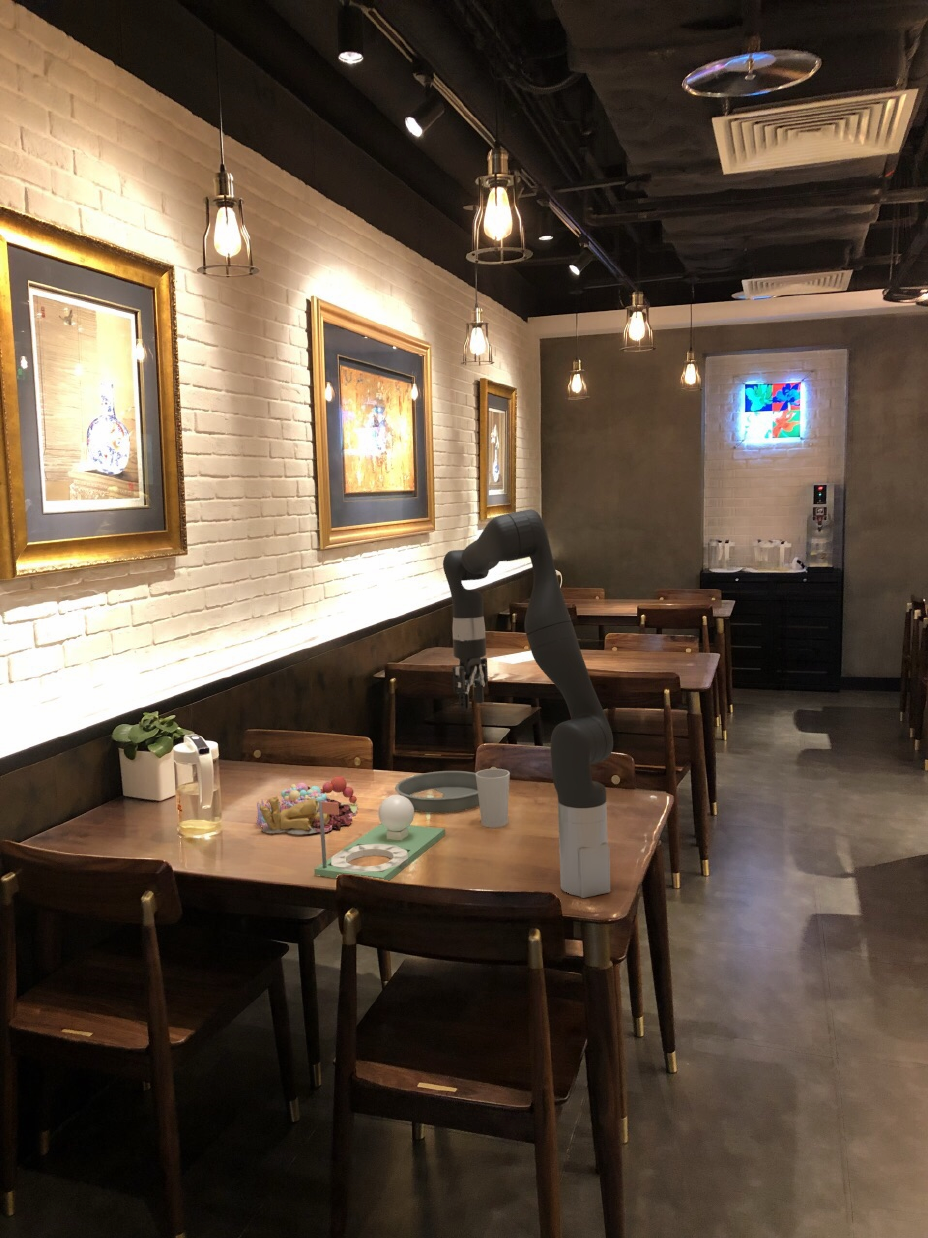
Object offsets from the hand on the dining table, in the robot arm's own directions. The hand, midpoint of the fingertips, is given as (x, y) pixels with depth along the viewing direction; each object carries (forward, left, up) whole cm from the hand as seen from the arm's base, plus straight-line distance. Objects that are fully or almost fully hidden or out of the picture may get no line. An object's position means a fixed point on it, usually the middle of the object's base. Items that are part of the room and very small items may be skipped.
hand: (471, 706), depth 220 cm
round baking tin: (+21, 0, -29) cm, 35 cm away
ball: (-4, +21, -21) cm, 30 cm away
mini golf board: (-9, +26, -28) cm, 39 cm away
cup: (-2, -4, -28) cm, 29 cm away
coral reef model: (+23, +35, -29) cm, 51 cm away
